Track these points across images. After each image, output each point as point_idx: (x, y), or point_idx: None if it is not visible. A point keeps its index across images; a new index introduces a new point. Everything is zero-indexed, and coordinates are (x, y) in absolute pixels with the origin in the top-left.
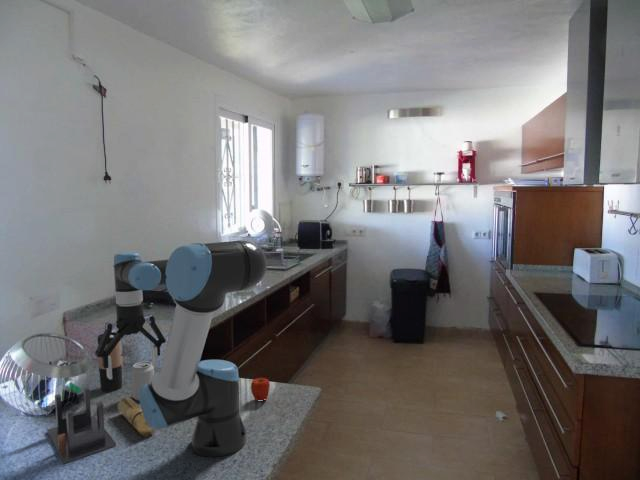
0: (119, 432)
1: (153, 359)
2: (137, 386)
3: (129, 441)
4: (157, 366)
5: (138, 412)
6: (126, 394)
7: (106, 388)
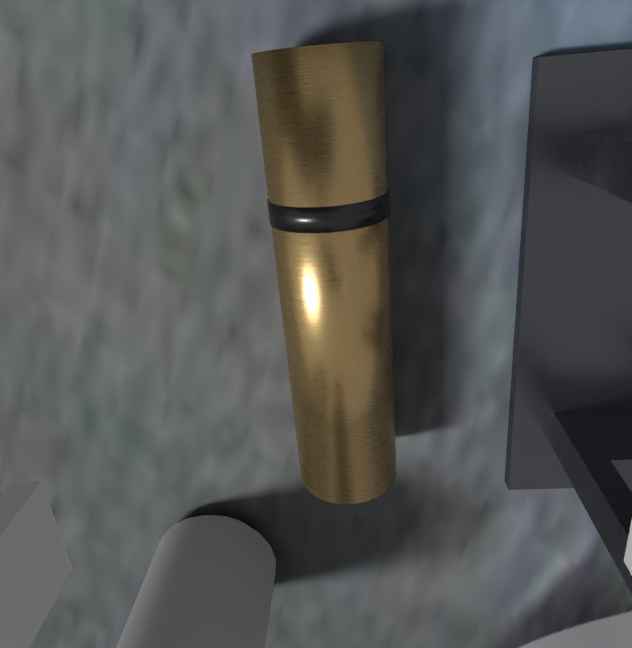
0: (453, 233)
1: (5, 622)
2: (242, 595)
3: (444, 65)
4: (9, 490)
5: (338, 234)
6: (288, 621)
7: None
